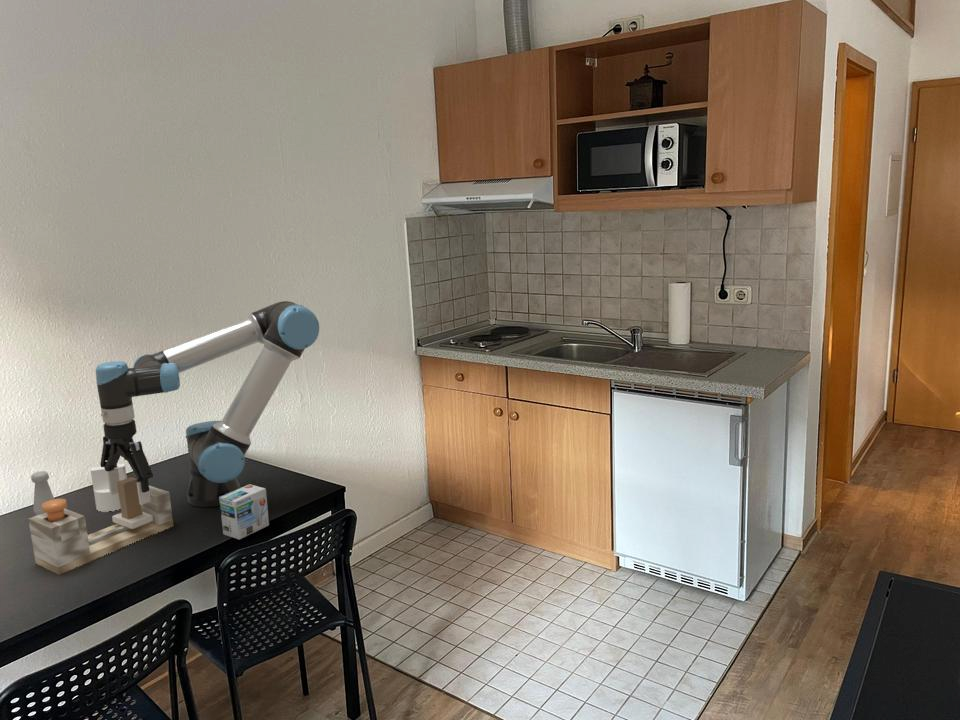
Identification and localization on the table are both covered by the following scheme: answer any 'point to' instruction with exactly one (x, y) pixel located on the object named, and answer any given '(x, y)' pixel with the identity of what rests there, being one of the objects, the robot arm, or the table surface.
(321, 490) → the table surface
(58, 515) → the button
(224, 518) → the light bulb box
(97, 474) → the cylinder with rectangular tab
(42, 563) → the rail base
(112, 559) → the table surface
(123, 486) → the carriage
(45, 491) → the salt shaker
